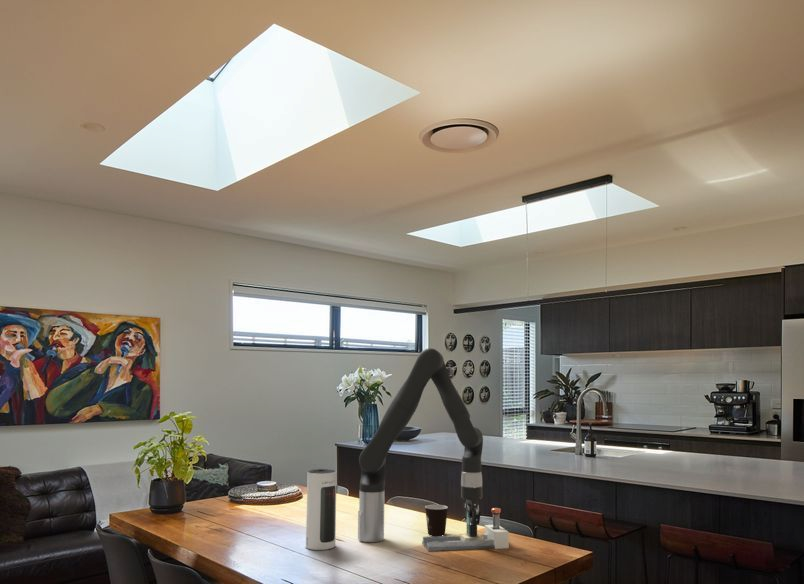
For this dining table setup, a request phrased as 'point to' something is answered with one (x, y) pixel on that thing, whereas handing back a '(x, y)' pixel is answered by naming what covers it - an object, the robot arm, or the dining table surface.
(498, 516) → the gauge plunger
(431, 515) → the coffee mug
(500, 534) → the end cabinet
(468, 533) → the carriage
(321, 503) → the speaker
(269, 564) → the dining table surface
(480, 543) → the rail bed
